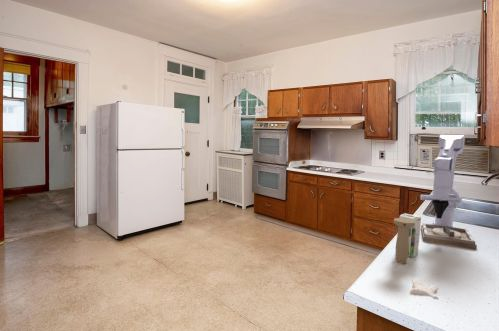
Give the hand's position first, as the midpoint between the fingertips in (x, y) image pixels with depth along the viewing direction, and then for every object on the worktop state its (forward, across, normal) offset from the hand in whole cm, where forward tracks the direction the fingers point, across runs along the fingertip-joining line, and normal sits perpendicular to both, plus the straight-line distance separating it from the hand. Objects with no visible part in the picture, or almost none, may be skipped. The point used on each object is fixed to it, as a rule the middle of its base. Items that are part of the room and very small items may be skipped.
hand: (438, 217), depth 123 cm
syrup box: (+9, -14, -21) cm, 28 cm away
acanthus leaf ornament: (+10, -14, -49) cm, 52 cm away
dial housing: (+9, +4, +3) cm, 11 cm away
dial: (+8, +4, +2) cm, 9 cm away
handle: (+9, -18, -31) cm, 37 cm away
